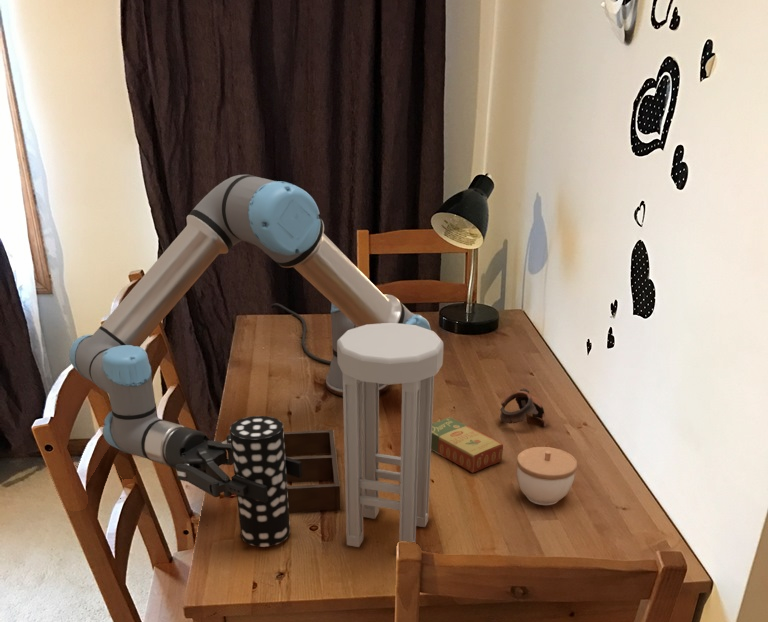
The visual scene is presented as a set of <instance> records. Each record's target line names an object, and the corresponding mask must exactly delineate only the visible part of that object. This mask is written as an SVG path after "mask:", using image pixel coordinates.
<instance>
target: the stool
mask: <svg viewBox="0 0 768 622" xmlns="http://www.w3.org/2000/svg"><path fill="white" fill-rule="evenodd" d="M444 347H445V345H444V341H443V340H442V338H440V336H439V335H438V334H437V333H436V332H435V331H434V330H432V329H431V330H428V329H425V328H422V327H419V326H416V325H409V324H399V323H380V324H367V325H364V326H360V327H357V328H354V329H350V330H348V331H347V332H346V333H345V334H344V335H343V336H342V337H341V338H340V339H339V340H338V341H337V361H338V365H339V367H340V369H341V371H342V373H343V396H342V405H343V407H342V409H343V410H342V411H343V442H344V443H343V447H344V448H343V449H344V452H343V453H344V487H345V493H344V494H345V530H346V533H345V534H346V535H345V537H346V546H351V547H355V548H360V547H361V544H362V543H363V541H364V518H368V519H373V520H376V518H377V516H378V514H379V513H380V509H379V508H383V509H390V510H393V511H399V533H398V535H399V536H398V543H399V542H400V541H407V542H415V543H417V542H416V540H417V539H416V537H417V527H421V528H426V526H427V524H428V522H429V510H430V509H429V508H430V507H429V506H430V487H431V485H430V484H431V462H432V461H431V460H432V450H431V438H432V424H433V415H434V413H433V411H434V387H435V385H434V384H435V376H437V375H438V373H439V372H440V369H441V368H442V366H443V365H444ZM379 383H380V384H388V385H400V384H401V422H400V423H401V425H400V428H401V431H400V456H396V455H391V454H390V455H389V454H382V453H380V394H379ZM380 464H385V465H393V466H398V467H400V471H399V472H398V471H391V470H386V469H380ZM380 479H383V480H387V481H394V482H400V483H399V484H397V483H393V482H392V483H390V482H385V481H380ZM380 492H384V493H391V494H396V495H399V500H396V499H395V500H394V499H389V498H382V497H380Z"/></svg>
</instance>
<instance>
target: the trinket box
mask: <svg viewBox="0 0 768 622" xmlns="http://www.w3.org/2000/svg"><path fill="white" fill-rule="evenodd" d="M516 465H517V466H516V480H517V484H518V487H519V489H520V490H521V492H522V494H523V495H524V496H525V497H526V499H527V500H528V502H529V501H530V503H533V504H535V505H538V506H539V505H540V506H552V505H555V504H557V503H558V502H559V501H561V500H563V498H565V497H566V496H567V495H568V493H569V492H570V491H571V489H572V487H573V484H574V481H575V477H576V472H577V468H578V461H577V459H576V458H575V457H574V456H573V455H572V454H571V453H569V452H568V451H565V450H563V449H560V448H555V447H549V446H533V447H530V448H526V449H524V450H522V451H521V452H520V453H518V455H517V458H516Z"/></svg>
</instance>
